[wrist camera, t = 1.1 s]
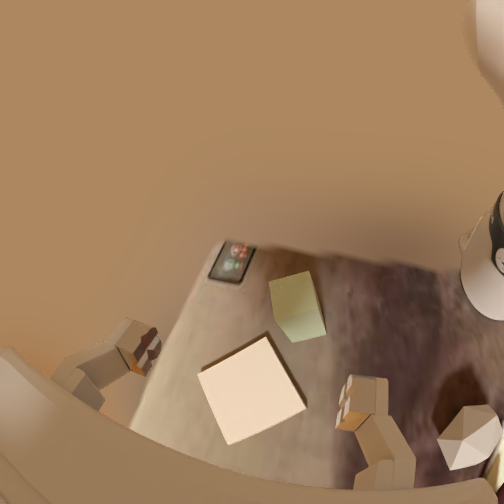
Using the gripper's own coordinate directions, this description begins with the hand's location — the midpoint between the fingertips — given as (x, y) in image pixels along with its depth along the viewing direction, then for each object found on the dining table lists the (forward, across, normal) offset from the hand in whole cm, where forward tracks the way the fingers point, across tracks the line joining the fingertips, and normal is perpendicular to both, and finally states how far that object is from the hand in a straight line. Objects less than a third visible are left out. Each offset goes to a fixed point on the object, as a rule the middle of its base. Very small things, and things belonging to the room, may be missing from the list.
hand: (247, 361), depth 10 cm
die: (+6, -27, +22) cm, 36 cm away
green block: (+22, -2, +21) cm, 30 cm away
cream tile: (+12, +3, +27) cm, 30 cm away
